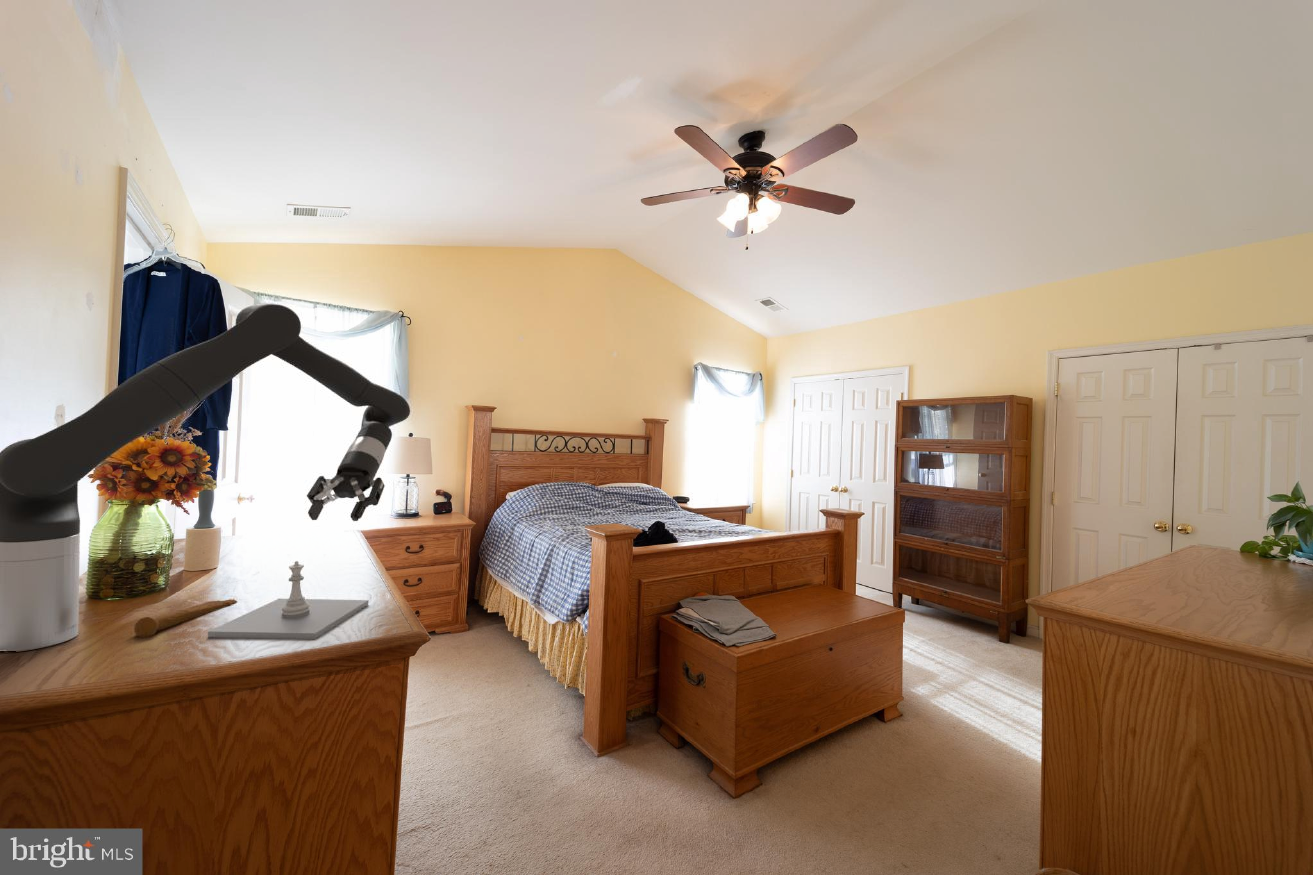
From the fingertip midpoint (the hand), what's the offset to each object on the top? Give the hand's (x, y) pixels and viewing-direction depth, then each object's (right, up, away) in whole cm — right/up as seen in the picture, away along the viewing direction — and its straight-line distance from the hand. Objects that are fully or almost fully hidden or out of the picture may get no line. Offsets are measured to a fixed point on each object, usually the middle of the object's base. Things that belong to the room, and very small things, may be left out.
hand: (333, 518), depth 112 cm
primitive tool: (-21, -17, -11) cm, 29 cm away
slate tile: (0, -17, -11) cm, 21 cm away
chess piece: (0, -17, -11) cm, 20 cm away
